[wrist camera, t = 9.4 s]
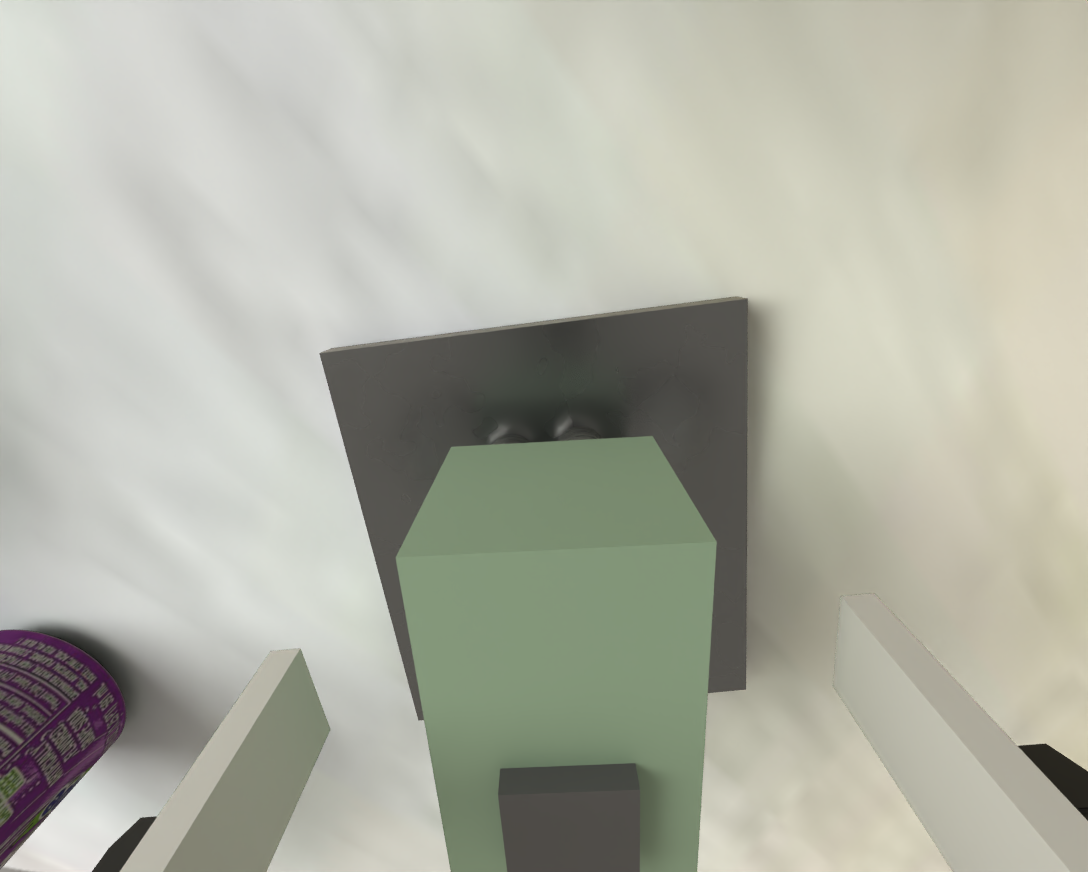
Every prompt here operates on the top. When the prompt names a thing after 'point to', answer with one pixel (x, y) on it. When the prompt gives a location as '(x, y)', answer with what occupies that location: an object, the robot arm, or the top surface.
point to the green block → (562, 655)
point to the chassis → (558, 425)
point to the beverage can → (48, 727)
